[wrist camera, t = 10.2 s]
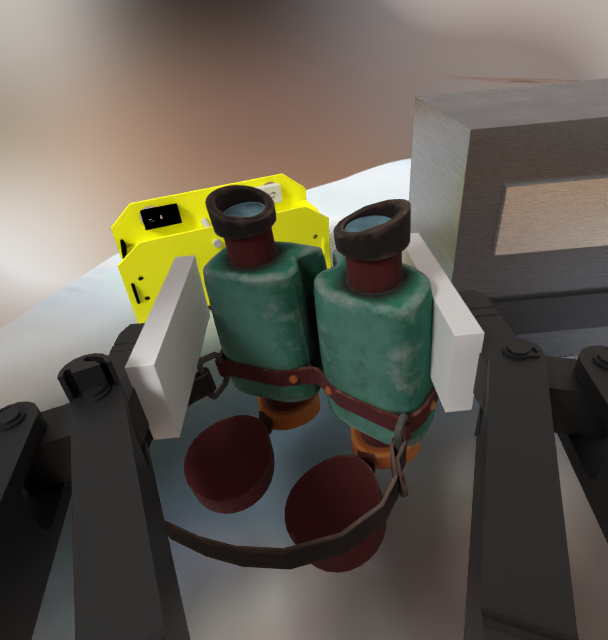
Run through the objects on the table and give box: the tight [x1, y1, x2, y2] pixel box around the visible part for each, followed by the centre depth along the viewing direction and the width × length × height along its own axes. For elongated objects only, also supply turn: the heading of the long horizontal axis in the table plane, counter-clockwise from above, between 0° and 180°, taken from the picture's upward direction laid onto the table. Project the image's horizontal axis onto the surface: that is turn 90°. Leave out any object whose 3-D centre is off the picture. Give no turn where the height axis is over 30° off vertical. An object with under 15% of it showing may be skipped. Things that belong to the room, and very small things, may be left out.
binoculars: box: [145, 185, 438, 573], centre depth 14 cm, size 9×11×10 cm
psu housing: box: [409, 79, 608, 357], centre depth 28 cm, size 19×10×14 cm, turn 92°
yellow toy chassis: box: [111, 174, 331, 324], centre depth 36 cm, size 16×6×8 cm, turn 112°
